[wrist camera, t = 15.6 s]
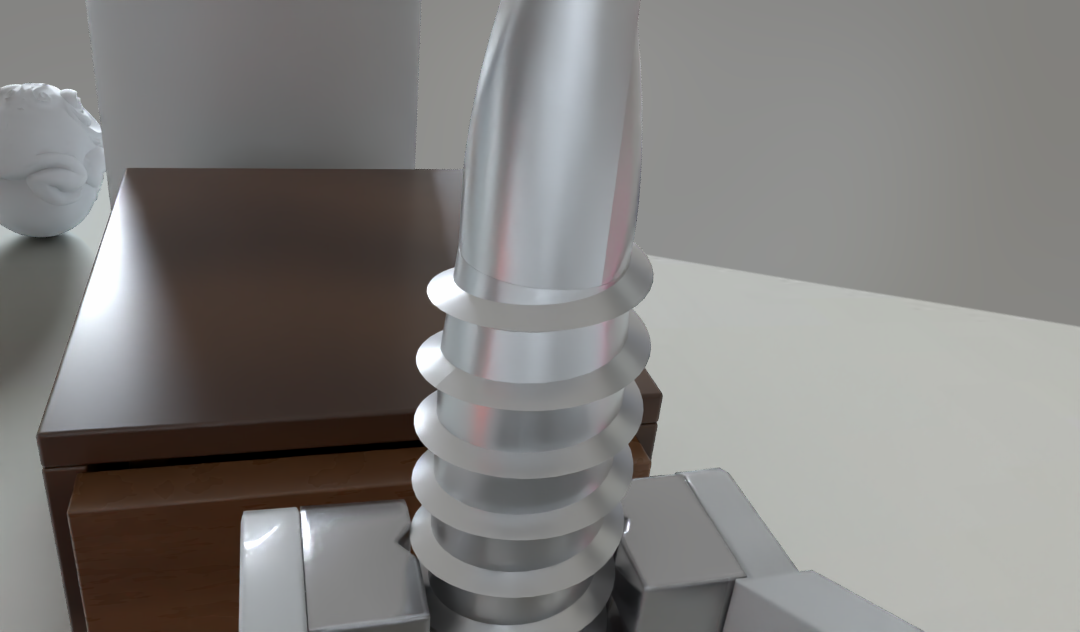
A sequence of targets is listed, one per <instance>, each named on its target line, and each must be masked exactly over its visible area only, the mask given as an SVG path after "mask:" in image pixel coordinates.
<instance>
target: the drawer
mask: <svg viewBox="0 0 1080 632" xmlns="http://www.w3.org/2000/svg"><path fill="white" fill-rule="evenodd" d="M628 445H629V447H630V449H631V453H632V458H633V476H632V478H640V477H649V474H650V468H651V460H650V459H649V457H648V455H647V454H646V452H645V450H644V449H643V447H642V445H641V443H640V442H639V440H638V438H637V437H636V435H635V436H634V437H633V439H632V440H631V441H630V443H629V444H628ZM427 450H428V448H427V447H426V446H425V445H424V444H423V443H422V442H421V440H414V441H400V442H387V443H373V444H360V445H346V446H333V447H319V448H305V449H292V450H278V451H265V452H251V453H238V454H224V455H210V456H197V457H183V458H170V459H156V460H143V461H129V469H123V470H110V471H97V472H84V473H78V474H77V475H76V479H75V483H74V487H73V490H72V494H71V498H70V502H69V506H68V510H67V517H68V523H69V529H70V535H71V540H72V546H73V552H74V558H75V563H76V569H77V575H78V581H79V586H80V592H81V598H82V603H83V609H84V615H85V621H86V626H87V632H239V590H240V535H241V519H242V515H243V511H251V510H264V509H277V508H290V507H297V508H298V510H299V514H300V506H309V505H324V504H338V503H353V502H367V501H382V500H396V499H404V500H405V502H406V504H407V507H408V512H409V516H410V520H411V522H412V519H413V517H414V515H415V513H416V512H417V510H418V509H419V508H420V507H421V506H422V504H421V503H420V501H419V500H418V499H417V497H416V495H415V492H414V490H413V487H412V473H413V469H414V467H415V464H416V462H417V461H418V459H419V458H420V457H421V456H422V454H424V453H425V452H426V451H427ZM410 553H411V554H413V555H414V556H415V557H417V556H416V554H415V552H414V550H413V548H412V545H411V552H410Z"/></svg>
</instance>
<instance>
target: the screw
mask: <svg viewBox="0 0 1080 632" xmlns="http://www.w3.org/2000/svg"><path fill="white" fill-rule="evenodd" d="M640 1H641V0H501V1H500V5H499V8H498V11H497V14H496V18H495V21H494V24H493V27H492V31H491V34H490V38H489V42H488V45H487V49H486V53H485V57H484V60H483V64H482V68H481V72H480V76H479V81H478V85H477V90H476V94H475V98H474V103H473V109H472V114H471V119H470V125H469V131H468V138H467V144H466V151H465V159H464V169H463V180H462V197H461V214H460V231H459V247H458V252H457V257H456V262H455V267H454V268H451V269H448V270H446V271H443V272H441V273H440V274H438V275H436V276H435V277H434V278H433V279H432V280H431V281H430V283H429V284H428V287H427V293H428V296H429V298H430V300H431V301H432V302H433V304H434V305H436V306H437V307H438V308H439V309H440V310H442V311H444V312H445V313H446V317H445V323H444V329H443V330H442V331H440V332H438V333H436V334H434V335H433V336H431V337H429V338H428V339H427V340H426V341H425V342H424V343H423V344H422V345H421V346H420V348H419V349H418V352H417V356H416V363H417V367H418V369H419V371H420V373H421V374H422V376H423V377H424V378H425V379H426V380H427V381H428V382H429V383H430V384H431V385H433V386H434V387H435V388H437V391H435V392H433V393H432V394H430V395H429V396H428V397H426V398H425V399H424V400H423V401H422V402H421V404H420V405H419V406H418V408H417V410H416V413H415V415H414V427H415V431H416V434H417V435H418V437H419V439H420V440H421V442H422V443H423V444H424V445H425V446H426V447H427V448H428V450H427V451H426V452H425V453H424V454H422V456H421V457H420V458H419V459H418V461H417V462H416V464H415V467H414V469H413V473H412V487H413V490H414V492H415V495H416V497H417V499H418V500H419V501H420V503H421V504H422V506H421V507H420V508H419V509H418V510H417V512H416V513H415V515H414V517H413V519H412V522H411V528H410V541H411V545H412V548H413V550H414V552H415V554H416V556H417V558H418V559H419V562H420V567H421V572H422V576H423V581H424V586H425V591H426V596H427V601H428V606H429V611H430V632H606V628H607V610H606V603H607V601H608V600H609V597H610V595H611V592H612V589H613V586H614V580H615V561H614V557H613V554H614V552H615V550H616V549H617V547H618V545H619V543H620V540H621V537H622V534H623V527H624V514H623V507H622V504H621V500H622V499H623V497H624V496H625V494H626V492H627V490H628V488H629V486H630V484H631V480H632V476H633V458H632V453H631V449H630V447H629V445H628V444H629V443H630V441H631V440H632V439H633V437H634V436H635V435H636V433H637V431H638V429H639V427H640V424H641V422H642V417H643V400H642V396H641V393H640V390H639V388H638V386H637V384H636V382H635V381H634V380H635V379H636V378H637V377H638V376H639V375H640V373H641V372H642V371H643V369H644V368H645V366H646V364H647V362H648V359H649V357H650V351H651V342H650V336H649V333H648V330H647V328H646V326H645V324H644V323H643V321H642V319H641V318H640V317H639V316H638V314H637V313H636V312H635V311H634V310H633V309H632V308H634V307H635V306H637V305H638V304H639V303H640V302H641V301H642V300H643V299H644V298H645V297H646V295H647V294H648V292H649V291H650V289H651V286H652V283H653V269H652V265H651V263H650V261H649V259H648V257H647V255H646V254H645V253H644V251H643V250H642V249H641V248H640V247H639V246H638V245H637V244H636V243H635V242H634V235H635V228H636V221H637V212H638V204H639V193H640V178H641V162H642V85H641V61H640V47H639V33H638V15H639V8H640Z"/></svg>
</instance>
